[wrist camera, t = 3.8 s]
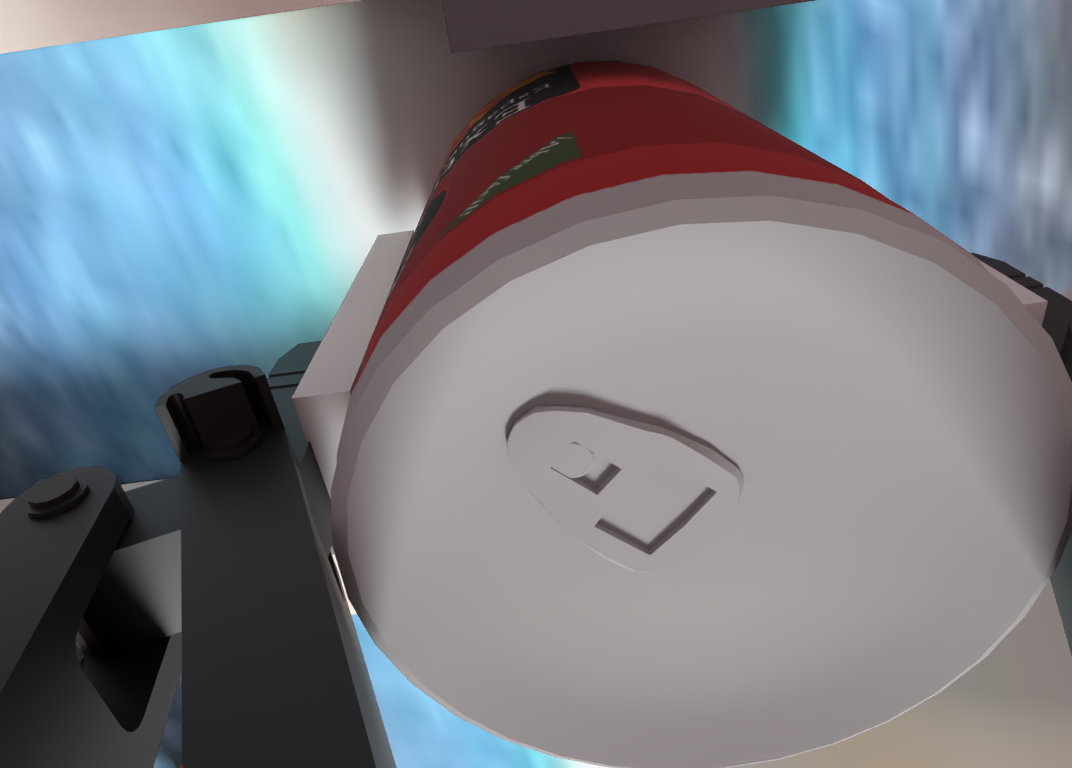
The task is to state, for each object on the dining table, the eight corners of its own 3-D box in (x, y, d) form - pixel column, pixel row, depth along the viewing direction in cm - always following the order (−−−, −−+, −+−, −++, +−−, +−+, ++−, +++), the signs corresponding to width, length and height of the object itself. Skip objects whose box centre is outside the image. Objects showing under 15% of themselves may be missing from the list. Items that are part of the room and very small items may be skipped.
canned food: (491, -4, 14) (445, 28, 5) (827, 136, 16) (1294, 372, 6) (394, 318, 18) (256, 709, 8) (677, 408, 19) (834, 822, 10)
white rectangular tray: (-417, -4, 14) (-725, 2, 10) (811, -193, 13) (921, -255, 10) (-20, 557, 21) (-123, 670, 18) (776, 460, 20) (830, 558, 17)
